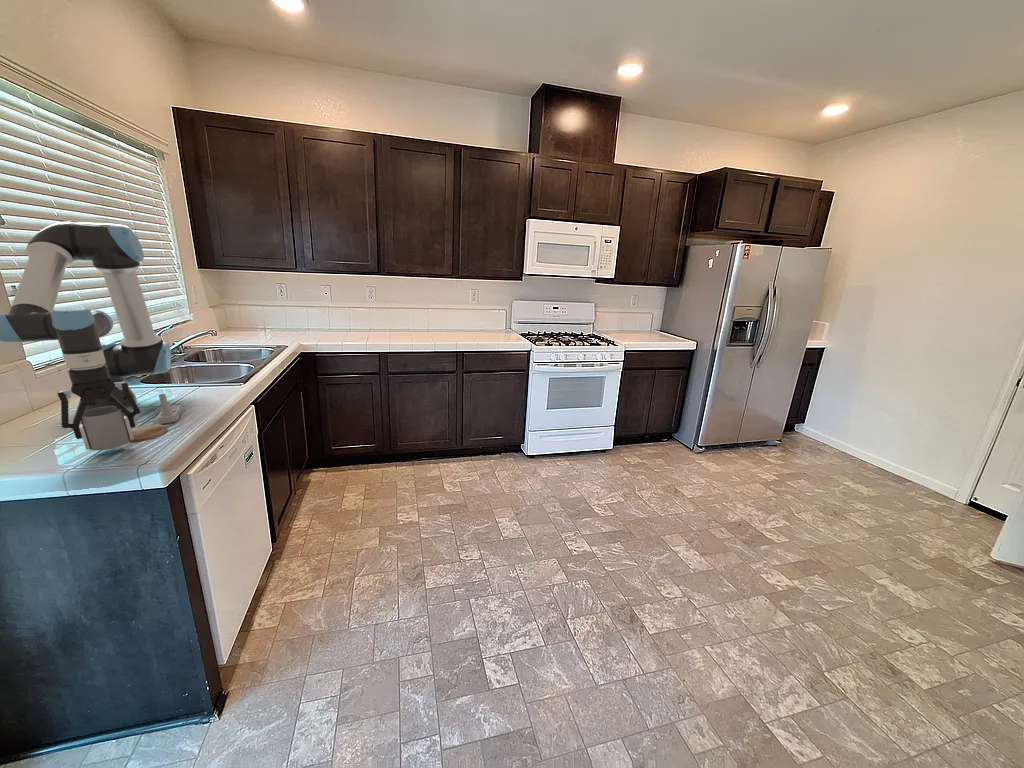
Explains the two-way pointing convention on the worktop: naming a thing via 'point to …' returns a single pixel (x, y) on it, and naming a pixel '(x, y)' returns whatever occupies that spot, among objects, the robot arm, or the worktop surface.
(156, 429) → the plate
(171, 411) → the electronic device
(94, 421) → the cup
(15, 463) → the worktop surface
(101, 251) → the robot arm
